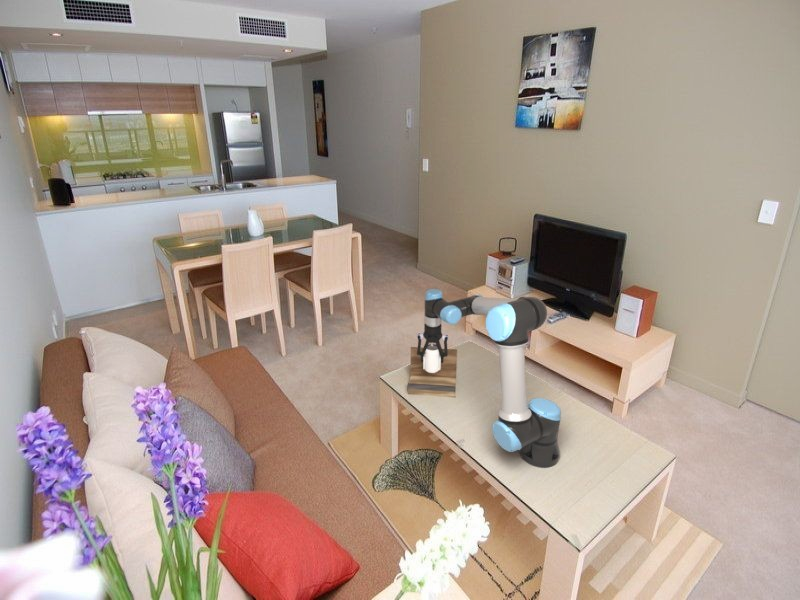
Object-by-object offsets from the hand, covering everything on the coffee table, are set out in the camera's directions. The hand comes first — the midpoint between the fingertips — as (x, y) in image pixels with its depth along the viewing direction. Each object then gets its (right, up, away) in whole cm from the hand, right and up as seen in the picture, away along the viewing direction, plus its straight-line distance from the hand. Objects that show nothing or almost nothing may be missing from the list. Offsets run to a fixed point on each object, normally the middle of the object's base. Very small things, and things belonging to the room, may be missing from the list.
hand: (432, 368), depth 213 cm
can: (0, -1, +1) cm, 1 cm away
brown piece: (+1, -11, +9) cm, 14 cm away
